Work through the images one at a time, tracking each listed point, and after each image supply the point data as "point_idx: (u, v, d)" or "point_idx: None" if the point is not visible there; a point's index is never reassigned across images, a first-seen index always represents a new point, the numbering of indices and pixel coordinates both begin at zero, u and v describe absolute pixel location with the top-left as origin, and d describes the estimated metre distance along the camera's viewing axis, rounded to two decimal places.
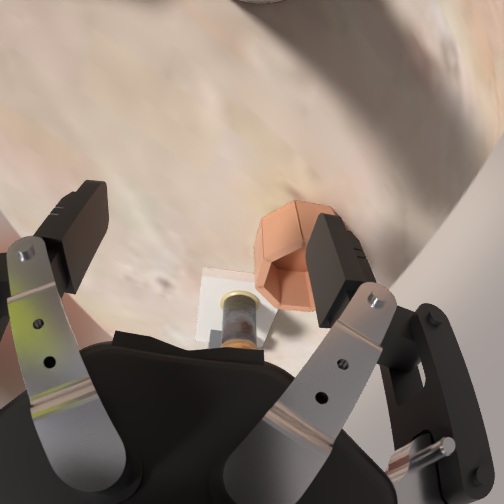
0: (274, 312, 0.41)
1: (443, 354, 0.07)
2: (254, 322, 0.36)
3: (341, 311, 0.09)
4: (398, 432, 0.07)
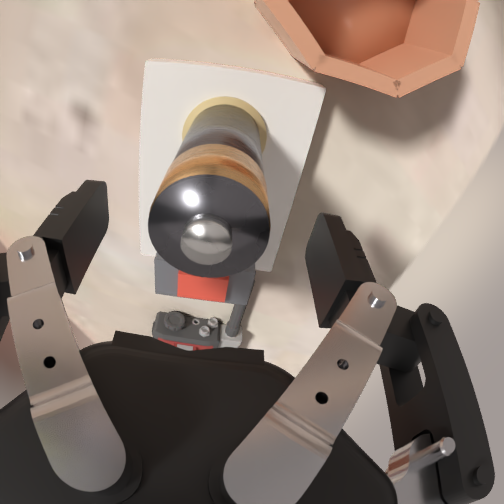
0: (299, 166, 0.19)
1: (443, 354, 0.07)
2: (257, 143, 0.14)
3: (341, 311, 0.09)
4: (398, 432, 0.07)
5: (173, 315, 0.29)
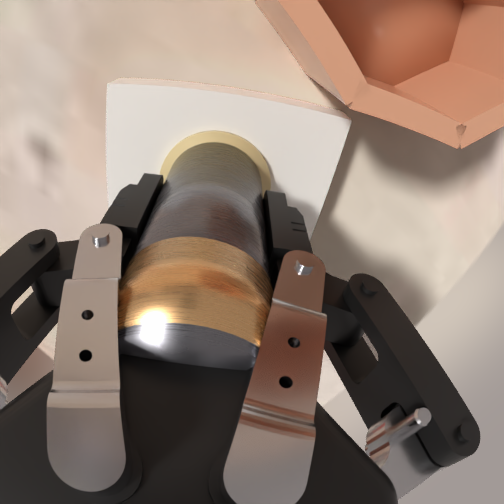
0: (311, 219, 0.15)
1: (389, 324, 0.07)
2: (259, 208, 0.10)
3: (273, 280, 0.09)
4: (364, 408, 0.08)
5: None
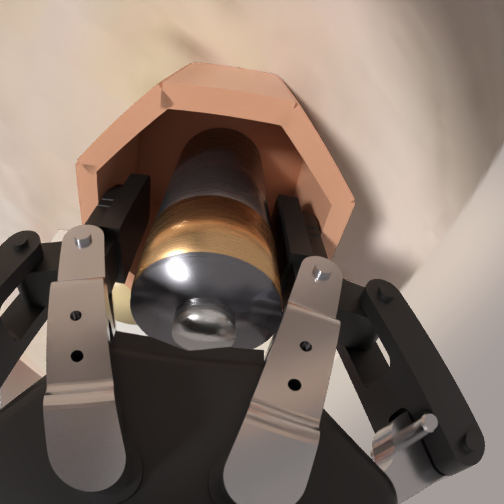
0: None
1: (403, 330, 0.07)
2: (261, 181, 0.12)
3: (289, 286, 0.09)
4: (373, 413, 0.07)
5: None
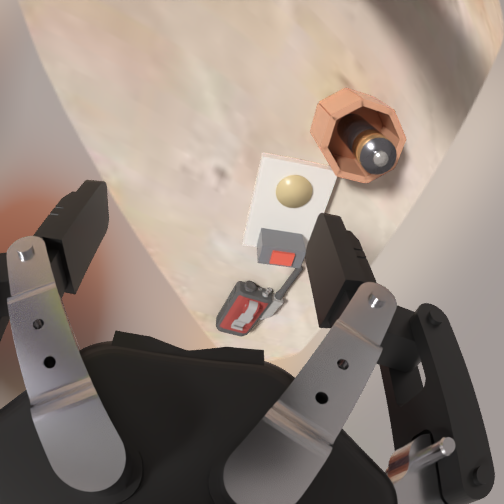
0: (325, 204, 0.42)
1: (443, 354, 0.07)
2: None
3: (341, 311, 0.09)
4: (398, 432, 0.07)
5: (249, 283, 0.53)
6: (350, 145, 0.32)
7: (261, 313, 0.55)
